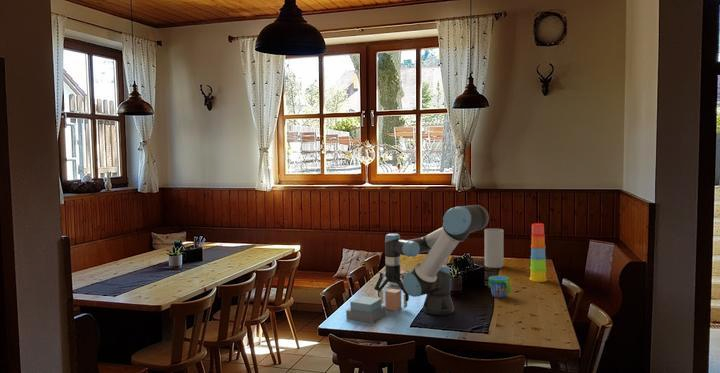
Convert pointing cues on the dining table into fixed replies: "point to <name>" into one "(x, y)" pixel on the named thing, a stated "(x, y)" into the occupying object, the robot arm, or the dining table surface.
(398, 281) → the lidded jar
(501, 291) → the snack cup
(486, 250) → the cylinder vase
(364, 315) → the grey stepped block
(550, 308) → the dining table surface
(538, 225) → the stacking cups
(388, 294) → the terracotta brick
